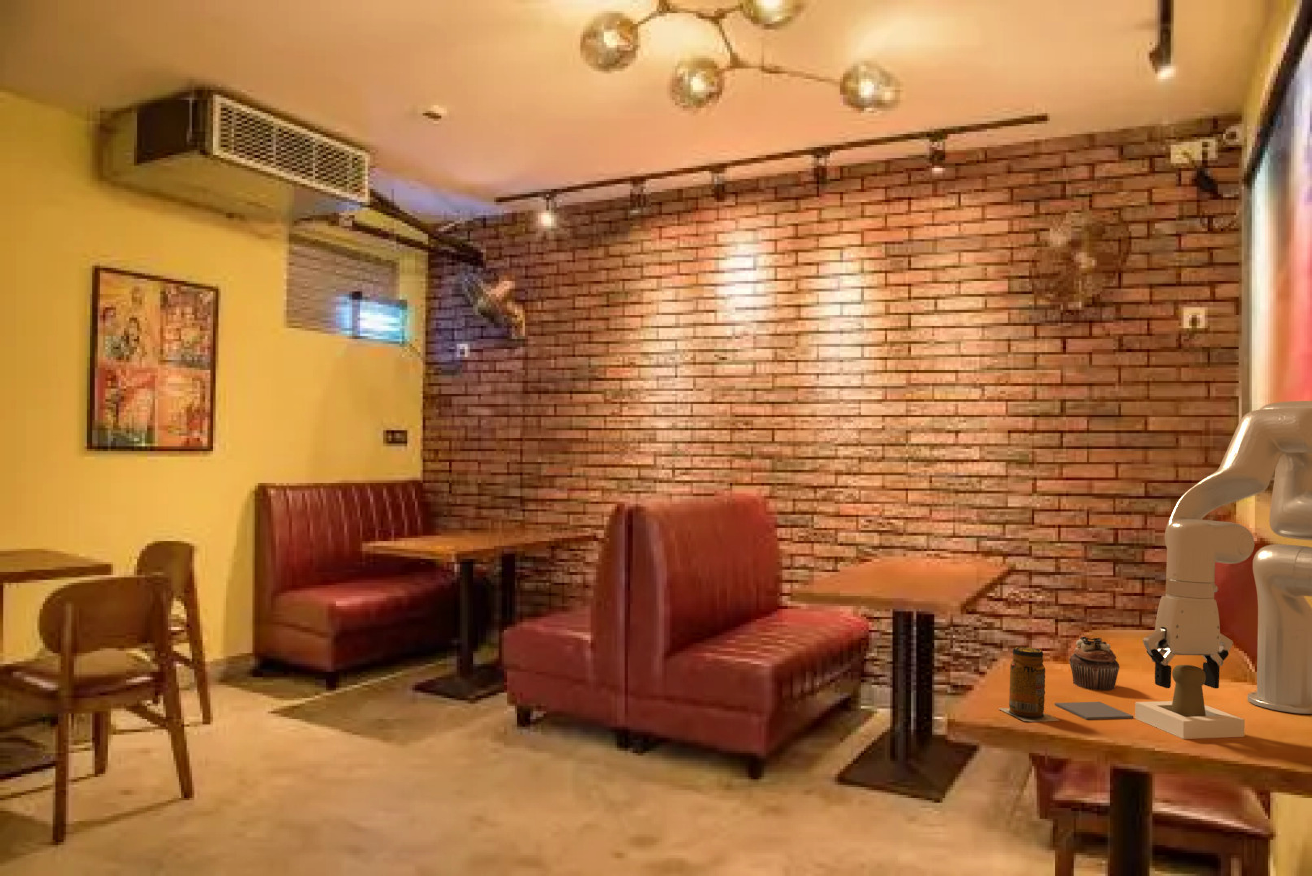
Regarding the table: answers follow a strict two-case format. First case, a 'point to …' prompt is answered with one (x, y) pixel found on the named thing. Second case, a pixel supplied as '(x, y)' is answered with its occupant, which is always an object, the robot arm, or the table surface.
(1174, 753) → the table surface
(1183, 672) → the cork
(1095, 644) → the cupcake
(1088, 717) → the coaster
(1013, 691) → the condiment
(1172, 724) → the holder
